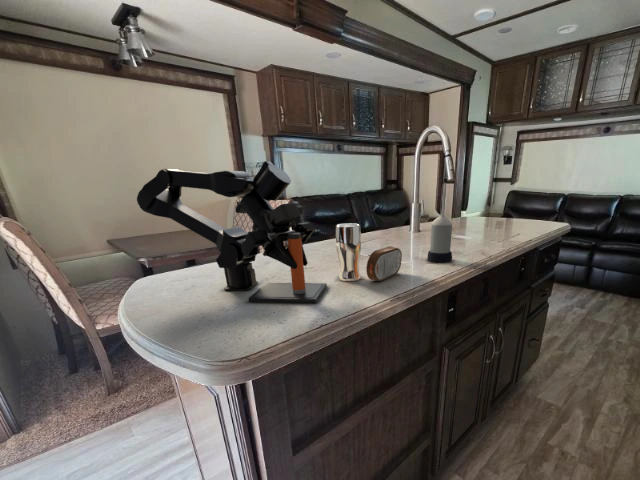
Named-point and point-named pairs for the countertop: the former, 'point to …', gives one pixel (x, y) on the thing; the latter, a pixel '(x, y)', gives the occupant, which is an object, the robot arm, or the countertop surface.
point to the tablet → (288, 293)
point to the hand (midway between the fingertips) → (301, 266)
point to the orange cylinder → (297, 255)
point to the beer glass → (348, 250)
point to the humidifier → (441, 237)
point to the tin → (384, 263)
